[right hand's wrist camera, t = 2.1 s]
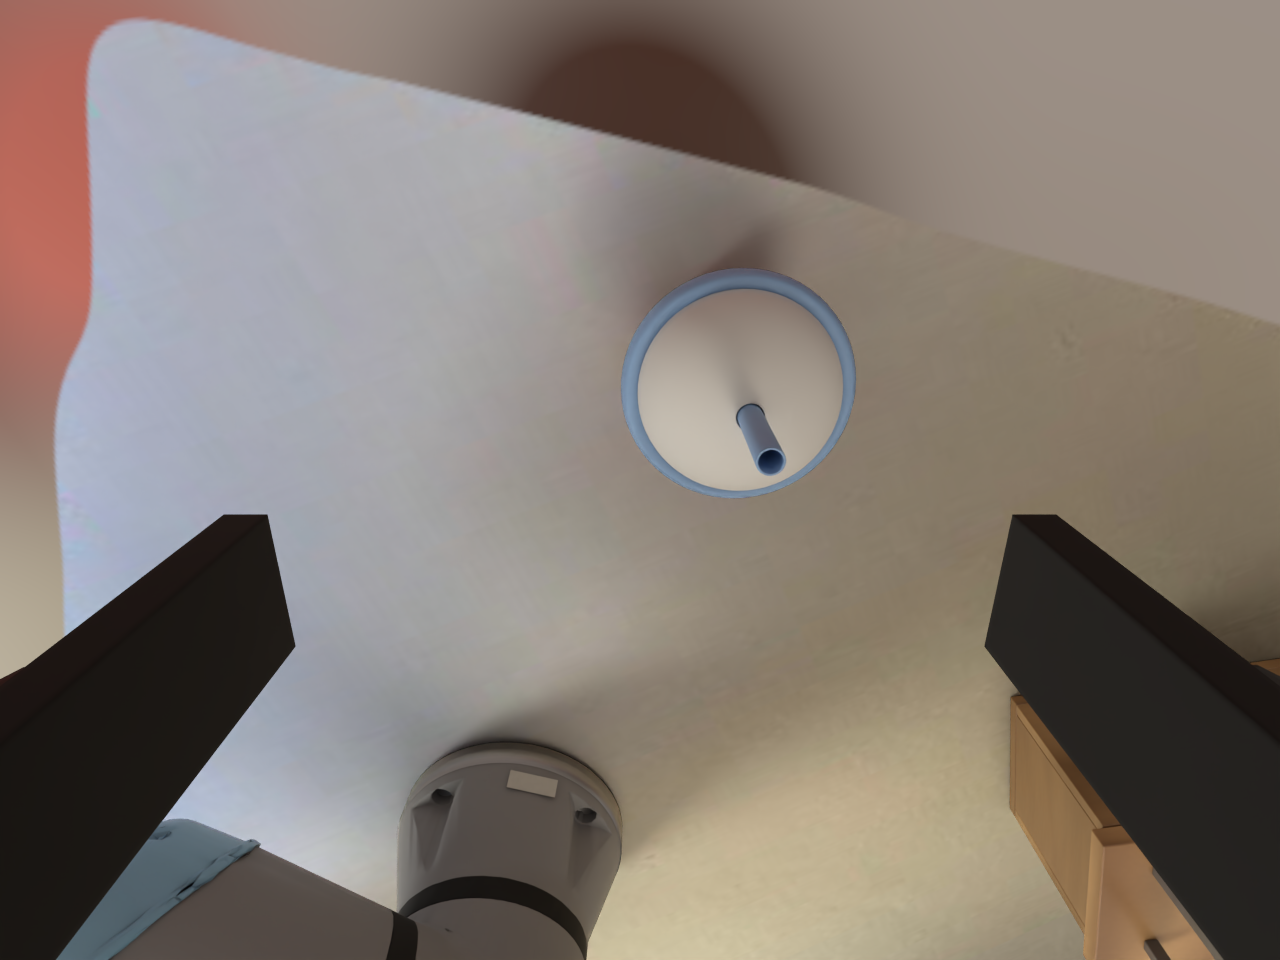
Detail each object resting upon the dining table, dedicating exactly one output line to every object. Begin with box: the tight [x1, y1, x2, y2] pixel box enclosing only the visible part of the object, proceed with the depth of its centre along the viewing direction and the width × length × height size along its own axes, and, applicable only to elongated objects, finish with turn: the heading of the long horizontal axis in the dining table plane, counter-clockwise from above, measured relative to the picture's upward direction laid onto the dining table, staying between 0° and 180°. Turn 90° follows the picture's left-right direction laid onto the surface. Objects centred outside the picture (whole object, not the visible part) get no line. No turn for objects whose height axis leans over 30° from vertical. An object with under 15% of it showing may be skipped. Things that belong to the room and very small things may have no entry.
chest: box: [1010, 659, 1280, 935], centre depth 42 cm, size 17×10×10 cm, turn 101°
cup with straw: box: [621, 268, 856, 498], centre depth 29 cm, size 9×9×18 cm
